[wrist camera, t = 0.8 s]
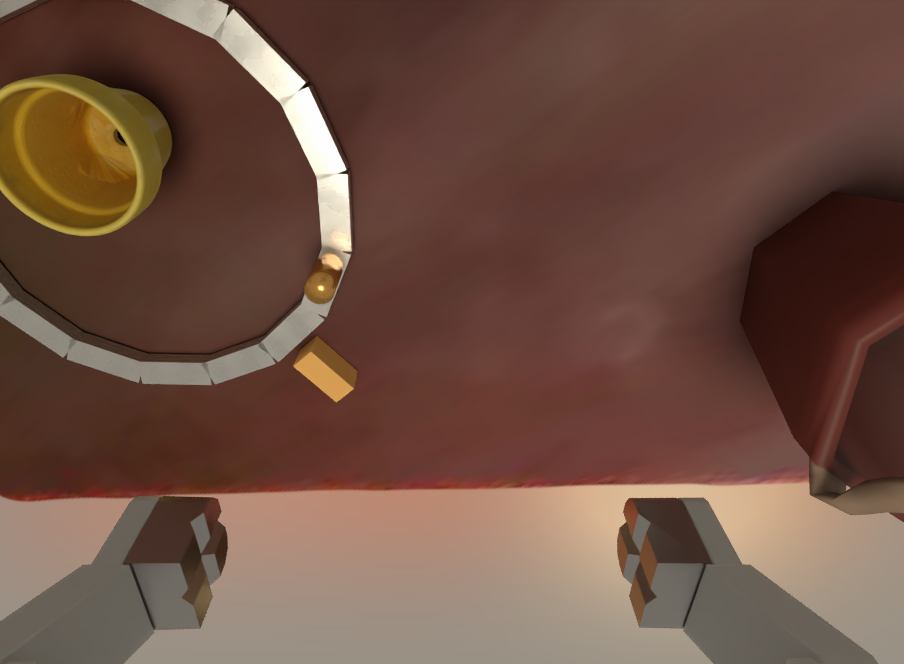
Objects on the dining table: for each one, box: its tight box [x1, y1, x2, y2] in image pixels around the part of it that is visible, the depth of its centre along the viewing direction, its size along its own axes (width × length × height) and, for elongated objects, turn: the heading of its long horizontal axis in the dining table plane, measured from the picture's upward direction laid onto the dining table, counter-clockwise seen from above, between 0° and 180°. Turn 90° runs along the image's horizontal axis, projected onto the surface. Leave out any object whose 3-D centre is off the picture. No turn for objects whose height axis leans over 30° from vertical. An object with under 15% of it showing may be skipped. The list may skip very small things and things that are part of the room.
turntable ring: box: [0, 0, 354, 385], centre depth 47 cm, size 35×35×6 cm
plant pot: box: [0, 74, 172, 236], centre depth 43 cm, size 10×10×10 cm
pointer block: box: [294, 336, 358, 402], centre depth 56 cm, size 6×2×3 cm, turn 41°
